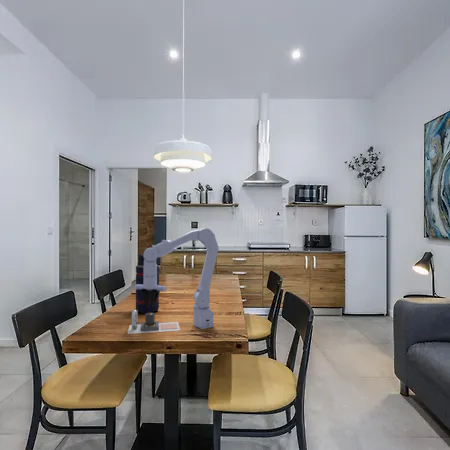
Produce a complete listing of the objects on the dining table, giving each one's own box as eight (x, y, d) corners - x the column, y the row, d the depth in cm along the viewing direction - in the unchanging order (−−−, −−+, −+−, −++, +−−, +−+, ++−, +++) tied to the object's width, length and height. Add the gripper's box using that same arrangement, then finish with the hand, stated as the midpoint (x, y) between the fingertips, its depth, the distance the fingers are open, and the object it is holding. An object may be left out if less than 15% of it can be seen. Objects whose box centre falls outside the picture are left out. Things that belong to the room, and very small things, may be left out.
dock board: (178, 323, 146) (178, 318, 146) (180, 332, 135) (180, 326, 135) (129, 326, 142) (129, 321, 142) (127, 335, 130) (127, 330, 130)
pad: (176, 323, 144) (176, 323, 144) (177, 328, 137) (177, 328, 137) (160, 324, 142) (160, 324, 142) (160, 329, 135) (160, 329, 135)
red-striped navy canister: (163, 311, 167) (163, 254, 168) (144, 315, 159) (144, 255, 159) (148, 306, 177) (148, 252, 177) (129, 310, 168) (129, 254, 168)
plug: (157, 327, 137) (156, 314, 137) (147, 330, 135) (147, 316, 135) (152, 325, 141) (152, 311, 141) (143, 327, 138) (142, 313, 138)
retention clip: (131, 327, 137) (131, 310, 137) (137, 327, 138) (137, 309, 138) (131, 337, 124) (132, 318, 124) (138, 337, 125) (138, 318, 125)
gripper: (169, 275, 139) (169, 305, 139) (140, 273, 144) (140, 303, 144) (161, 277, 133) (161, 309, 133) (131, 275, 137) (131, 307, 137)
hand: (150, 306), depth 138 cm, fingers closed
